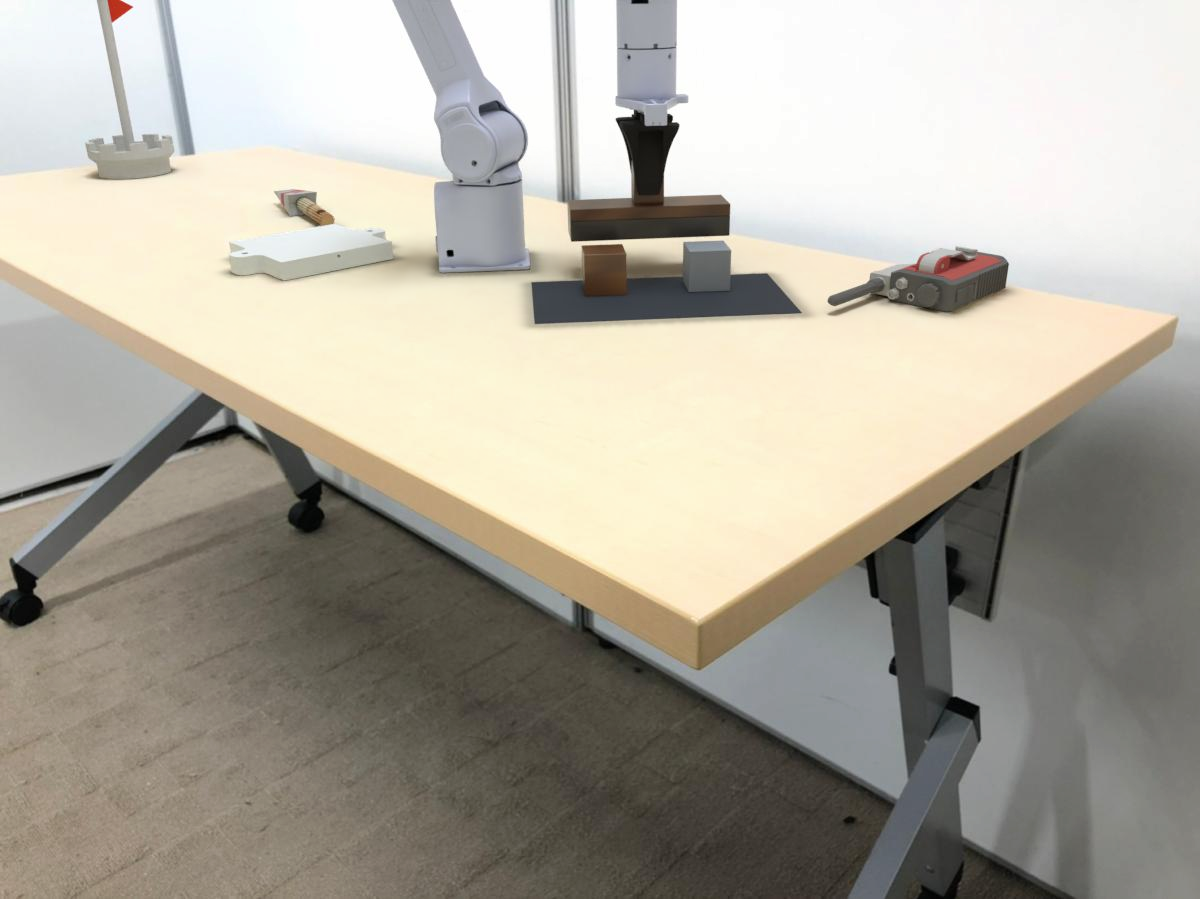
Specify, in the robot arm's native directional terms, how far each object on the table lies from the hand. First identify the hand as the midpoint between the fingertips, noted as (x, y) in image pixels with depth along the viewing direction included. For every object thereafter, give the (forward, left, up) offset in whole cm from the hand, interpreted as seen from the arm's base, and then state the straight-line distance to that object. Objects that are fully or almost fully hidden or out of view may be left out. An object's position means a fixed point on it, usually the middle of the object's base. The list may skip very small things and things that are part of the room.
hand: (646, 191), depth 107 cm
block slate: (+5, -7, -8) cm, 12 cm away
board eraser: (0, 0, -4) cm, 4 cm away
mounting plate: (-36, +11, -8) cm, 39 cm away
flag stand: (-75, +75, -8) cm, 106 cm away
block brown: (-5, -7, -8) cm, 12 cm away
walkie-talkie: (+24, -14, -8) cm, 29 cm away
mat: (0, -10, -8) cm, 13 cm away
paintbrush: (-41, +36, -8) cm, 55 cm away
